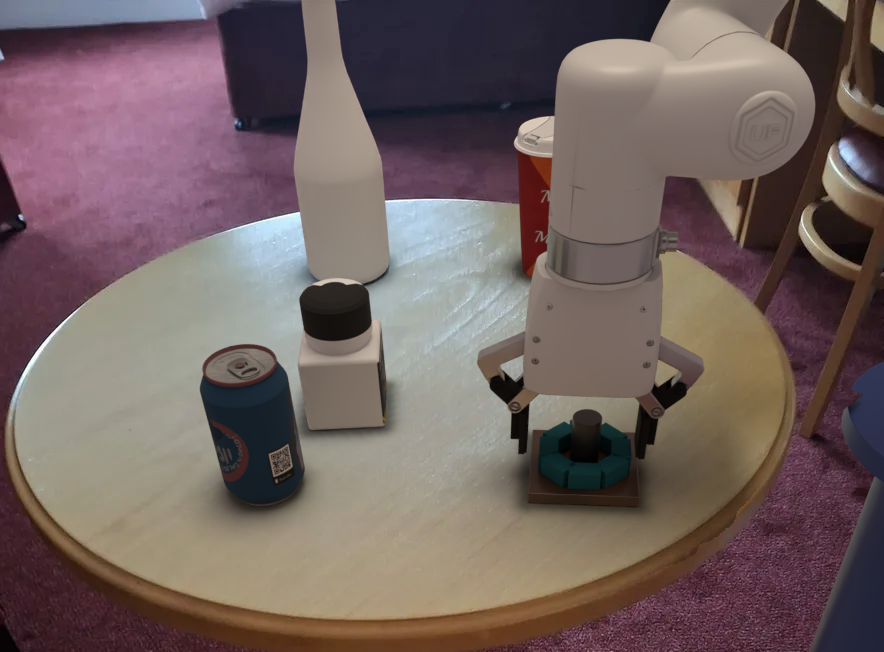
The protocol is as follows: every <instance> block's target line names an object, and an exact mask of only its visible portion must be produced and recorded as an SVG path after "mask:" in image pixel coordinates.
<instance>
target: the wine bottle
mask: <svg viewBox="0 0 884 652" xmlns="http://www.w3.org/2000/svg"><path fill="white" fill-rule="evenodd" d="M301 10H302V11H301V12H302V20H303V29H304V36H305V47H306V55H307V56H306V57H307V65H306V66H307V67H306V68H307V69H306V78H305V86H304V93H303V99H302V105H301V112H300V117H299V125H298V131H297V136H296V143H295V148H294V149H295V150H294V159H293V177H294V182H295V189H296V190H295V191H296V196H297V202H298V209H299V216H300V223H301V228H302V235H303V242H304V248H305V253H306V262H307V266H308V269H309V272H310V273H311V274H312V276H313V277H314V278H315V279H316V280H318V282H319V281H322V280H326V279H332V278H343V279H350V280H354V281H357V282H359V283H361V284H362V285H364V284H367V283H370V282H373V281H374V280H377V279H378V278H380V277H381V276H382V275H384V273H385V272H386V271H387V269H388V268H389V264H390V260H391V254H390V253H391V252H390V243H389V230H388V217H387V207H386V194H385V183H384V173H383V170H384V169H383V162H382V157H381V154H380V151H379V148H378V145H377V143H376V140H375V137H374V135H373V133H372V130H371V128H370V126H369V124H368V121H367V119H366V117H365V114H364V111H363V109H362V106H361V103H360V100H359V99H358V97H357V93H356V91H355V89H354V86H353V84H352V82H351V78H350V76H349V74H348V72H347V69H346V68H347V67H346V65H345V61H344V58H343V52H342V44H341V38H340V37H341V36H340V29H339V22H338V13H337V4H336V0H301Z"/></svg>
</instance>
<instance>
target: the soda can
mask: <svg viewBox="0 0 884 652" xmlns="http://www.w3.org/2000/svg"><path fill="white" fill-rule="evenodd" d="M201 369H202V377H201V380H200V384H199V393H200V397H201V401H202V404H203V408H204V412H205V413H204V414H205V416H206V419H207V424H208V427H209V431H210V435H211V439H212V442H213V446H214V450H215V453H216V459H217V460H218V465H219V469H220V473H221V476H222V480H223V484H224V486H225V487H226V489H227V490H228V492H229V493H231V494H232V496H234V497H236V498H237V499H238V500H240V501H241V502H243V503H244V504H247V505H250V506H254V507H267V506H273V505H277V504H280V503H282V502H284V501H286V500H288V499H289V498H291V497H292V496H293V495H294V494H295V493H296V492H297V490H298V488H299V486H300V485H301V483H302V480H303V479H304V477H305V471H306V466H305V462H304V456H303V451H302V446H301V440H300V439H301V438H300V434H299V430H298V424H297V419H296V418H297V417H296V414H295V408H294V407H295V406H294V401H293V398H292V397H293V396H292V392H291V391H292V390H291V387H290V386H291V385H290V381H289V376H288V373H287V371H286V369H285V368H284V367H283V366H282V365H281V363H279V361H278V359H277V355H276V353H275V352H274V351H272V350H271V349H270V348H268V347H266V346H264V345H260V344H254V343H239V344H234V345H230V346H229V345H228V346H225V347H224V348H221V349H218V350H217V351H215V352H213V353H211V354H210V355H209V356H208V357H207V358H206V359H205V360H204V362H203V364H202V368H201Z"/></svg>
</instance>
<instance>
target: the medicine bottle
mask: <svg viewBox="0 0 884 652" xmlns="http://www.w3.org/2000/svg"><path fill="white" fill-rule="evenodd" d="M298 302H299V309H300V315H301V320H302V326H303V329H302V335H301V341H300V347H299V353H298V358H297V369H298V376H299V381H300V387H301V388H300V389H301V393H302V399H303V404H304V411H305V416H306V422H307V427H308V429H309V430H311V431H316V430H339V429H359V428H360V429H361V428H380V427H384V426H385V425H386V417H387V416H386V415H387V414H386V413H387V389H388V388H387V387H388V383H387V371H386V362H385V350H384V341H383V340H384V339H383V330H382V329H383V328H382V323H381V321H380V320H379V319H372V309H371V301H370V292H369V289H367V287H366V286H365V285H364V284H361V283H359V282H357V281H354V280H350V279H343V278H332V279H326V280H322V281H319V280H318V281H317V282H313V283H311V284H309V285H308V286H307V287H306V288H305V289H304V290H303V291H302V293H300V295H299V298H298Z"/></svg>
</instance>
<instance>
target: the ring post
mask: <svg viewBox="0 0 884 652" xmlns="http://www.w3.org/2000/svg"><path fill="white" fill-rule="evenodd" d="M571 420H572V433H571V447H569V448H568V449H566V450H564V451H562V452H560V454H561V455H563V456H565V457H566V458H568V459H569V460H571V461H572V462H577V463H598V462H599V461H601V460H603V459H604V458H606V457H608V456H610V455H608V454H607V453H605V452H603V451H602V450H600V449H599V447H600V437H601V428H602V424H603V415H602V414H601V413H600V412H599V411H597V410H596V409H590V408H583V409H579V410H577V411H575V412H574V413H573V415H572V419H571ZM547 430H548V429H532V432H531V433H532V434H531V446H530V447H531V449H530V460H529V461H530V462H529V474H528V475H529V476H528V491H527V503H532V504H555V505H556V504H560V505H584V506H585V505H586V506H608V507H609V506H610V507H611V506H612V507H614V506H615V507H618V506H619V507H634V508H635V507H639V503H640V498H641V497H640V481H639V468H638V467H639V466H638V458H637V457H635V443H634V436H635V431H634V432H630V431H627V432H625V431H622V432H623V433H624V434H626V435H627V436H628V437H627V439H631V456H632V458H631V466H630V472H628V473H627V476H626V477H625V478H623V479H621V480H619V481H618V482H616V483H614V484H613V485H611V486H609V487H608V488H606V489H605V488H603V487H602V486H600V490H576V489H568V484H567V485H565V486H564V487H560V486H559V485H558V484H556V483H555V482H553V481H552V480H550V479H549V478H547V477H546V476H544V475H543V474H541V469H538V461H539V443H540V436H543V433H544V432H545V431H547Z"/></svg>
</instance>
